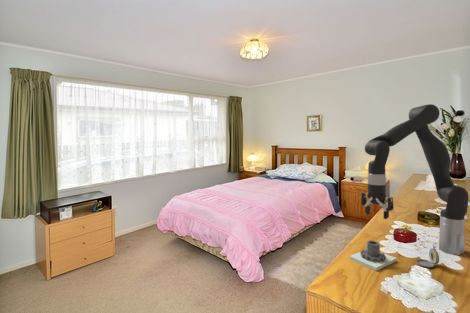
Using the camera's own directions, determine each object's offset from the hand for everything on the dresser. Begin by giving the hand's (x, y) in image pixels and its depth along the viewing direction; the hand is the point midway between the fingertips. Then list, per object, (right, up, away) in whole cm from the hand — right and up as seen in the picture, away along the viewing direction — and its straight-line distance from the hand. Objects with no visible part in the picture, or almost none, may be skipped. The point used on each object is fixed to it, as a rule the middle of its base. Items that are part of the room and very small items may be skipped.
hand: (376, 216), depth 122 cm
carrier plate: (-2, -21, 0) cm, 21 cm away
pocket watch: (+20, -21, -6) cm, 29 cm away
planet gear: (-2, -19, 0) cm, 19 cm away
